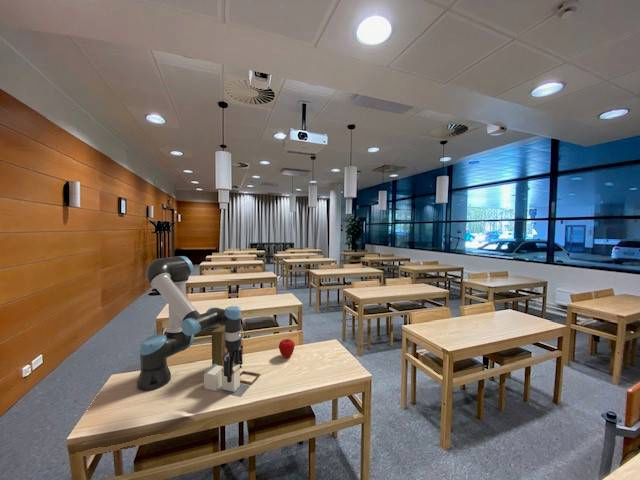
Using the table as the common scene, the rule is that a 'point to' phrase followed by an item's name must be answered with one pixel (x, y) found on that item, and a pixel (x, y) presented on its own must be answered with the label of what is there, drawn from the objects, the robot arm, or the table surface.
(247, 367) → the table surface
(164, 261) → the robot arm
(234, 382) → the stub
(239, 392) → the board
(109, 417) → the table surface
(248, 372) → the tray
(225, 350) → the book
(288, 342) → the apple
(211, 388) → the pad
